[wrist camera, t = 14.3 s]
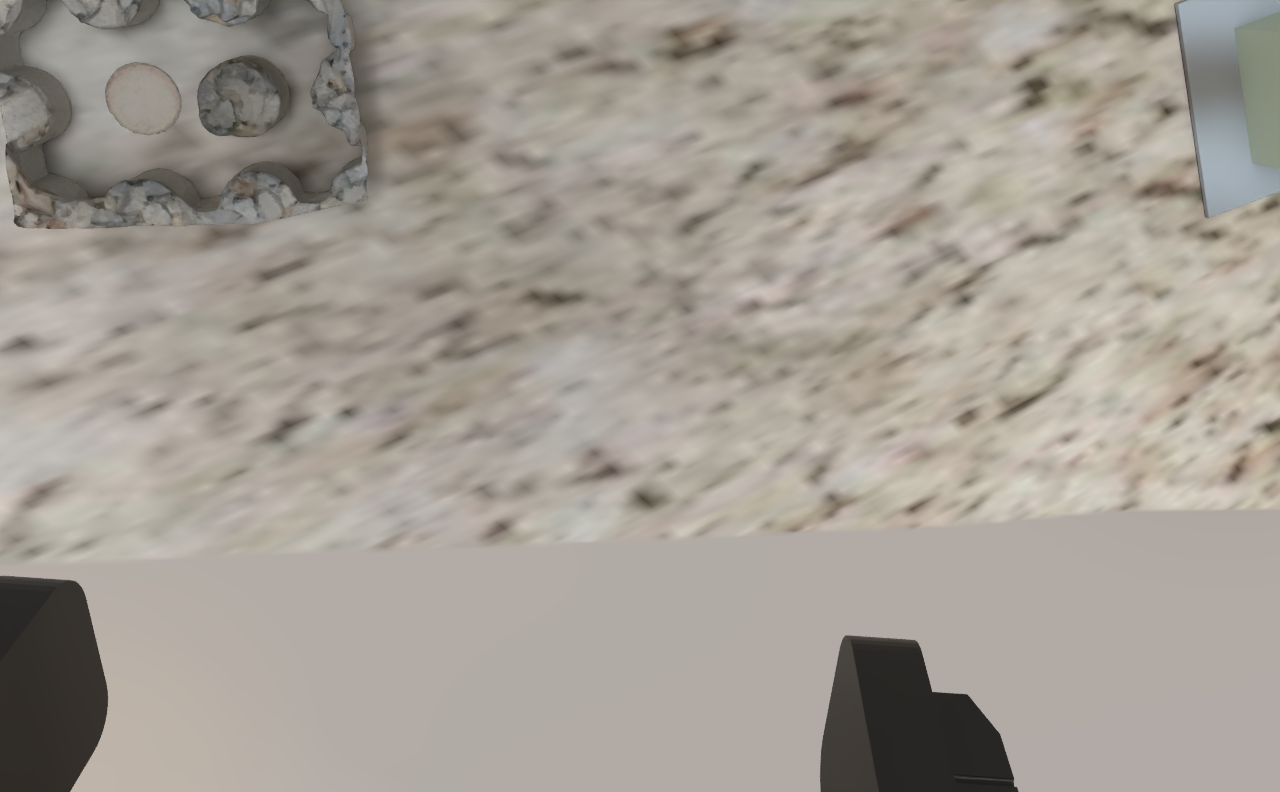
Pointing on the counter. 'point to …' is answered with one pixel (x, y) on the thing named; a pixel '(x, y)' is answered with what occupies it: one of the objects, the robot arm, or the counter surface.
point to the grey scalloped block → (151, 103)
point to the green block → (1261, 86)
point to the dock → (1221, 101)
